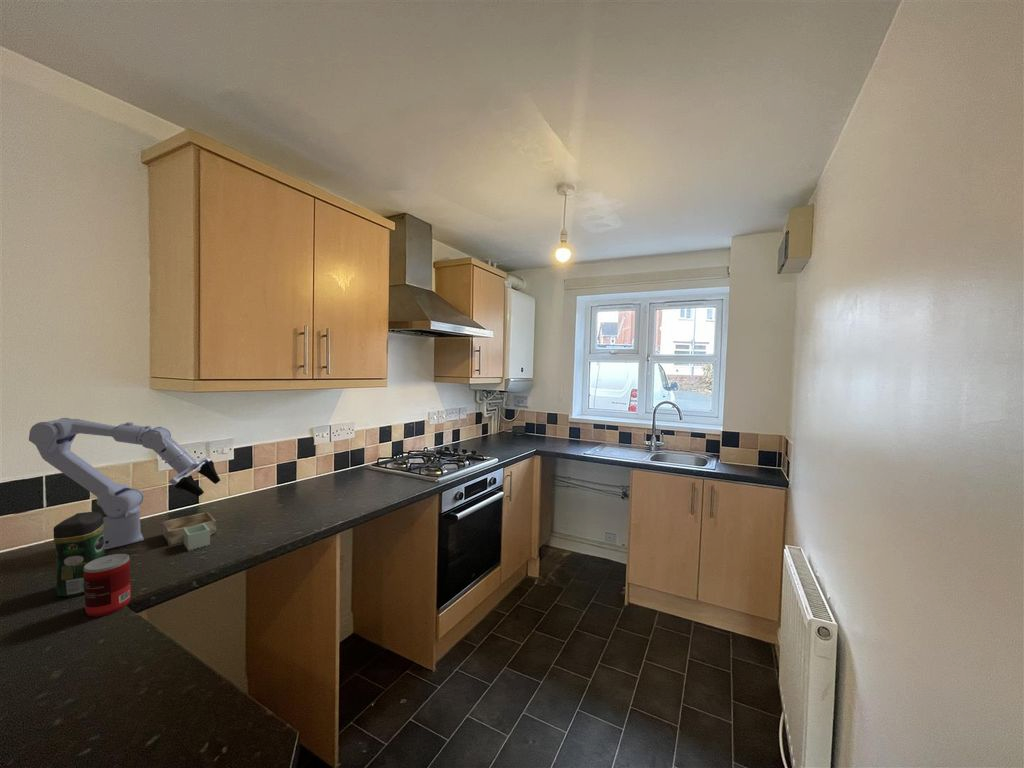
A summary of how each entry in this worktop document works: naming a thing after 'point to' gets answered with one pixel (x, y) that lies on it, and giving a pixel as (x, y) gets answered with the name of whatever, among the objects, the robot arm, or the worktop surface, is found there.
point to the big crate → (186, 526)
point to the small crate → (196, 537)
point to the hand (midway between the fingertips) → (210, 488)
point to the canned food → (107, 584)
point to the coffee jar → (77, 550)
